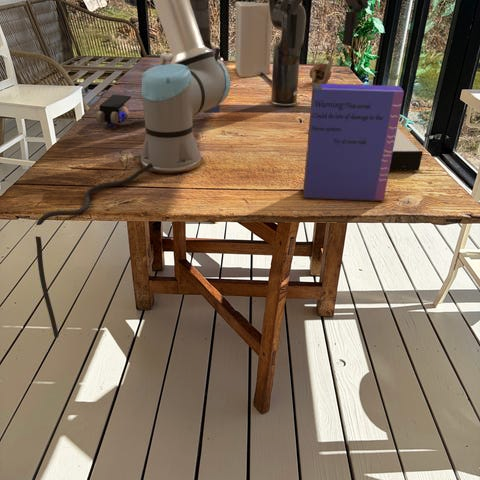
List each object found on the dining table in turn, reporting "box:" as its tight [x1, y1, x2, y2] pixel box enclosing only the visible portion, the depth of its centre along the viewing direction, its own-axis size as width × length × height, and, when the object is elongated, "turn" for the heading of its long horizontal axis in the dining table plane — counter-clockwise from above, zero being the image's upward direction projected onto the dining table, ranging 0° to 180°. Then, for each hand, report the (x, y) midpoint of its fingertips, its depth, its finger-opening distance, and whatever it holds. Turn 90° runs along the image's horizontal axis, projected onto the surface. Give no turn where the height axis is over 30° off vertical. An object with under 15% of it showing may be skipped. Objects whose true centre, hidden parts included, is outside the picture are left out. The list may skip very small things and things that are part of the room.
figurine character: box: [95, 94, 132, 130], centre depth 148 cm, size 7×8×15 cm
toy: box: [159, 51, 226, 67], centre depth 223 cm, size 24×25×7 cm
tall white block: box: [234, 1, 273, 78], centre depth 210 cm, size 19×15×28 cm
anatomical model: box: [309, 55, 334, 84], centre depth 196 cm, size 13×9×15 cm
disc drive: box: [389, 127, 424, 172], centre depth 128 cm, size 18×22×5 cm
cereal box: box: [302, 83, 405, 202], centre depth 102 cm, size 17×5×24 cm, turn 86°
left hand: (319, 46), depth 103 cm, fingers open, 13 cm apart
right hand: (199, 80), depth 159 cm, fingers closed on bar, 4 cm apart
